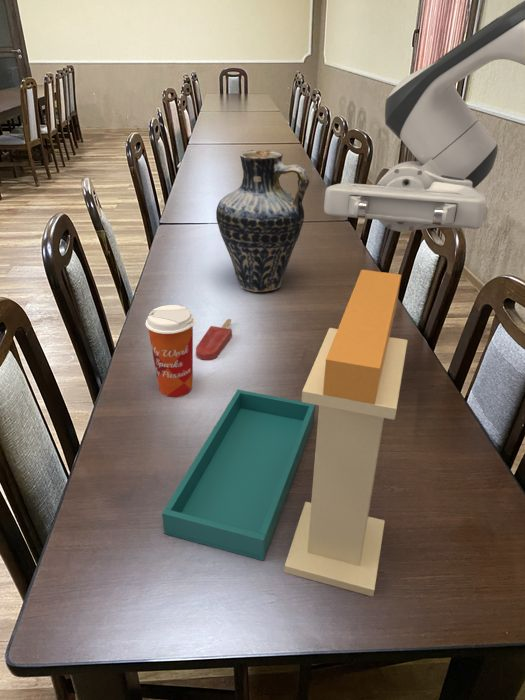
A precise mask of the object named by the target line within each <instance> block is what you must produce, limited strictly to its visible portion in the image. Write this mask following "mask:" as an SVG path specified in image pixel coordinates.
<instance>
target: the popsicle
mask: <svg viewBox="0 0 525 700" xmlns="http://www.w3.org/2000/svg"><path fill="white" fill-rule="evenodd" d="M231 322H232V319H231V318H227V319H226V321H225V322H224V323H223V324H222V326H221V327H220V326H214V325H210V326H209V328H208V329H207V331H206V332H205V334H204V335H203V337H202V338H201V340H200V341H199V342H198V344H197V345H196V347H195V355H196V357H197V359H200V360H204V361H210V360H214V359H216V358H217V357H218V356H219V355H220V353H221V352H222V350H223V349H224V348H225V347H226V345H227V344H228V343H229V341H230V340H231V339H232V337H233V329H232V328H228V327H229V326H230V324H231Z"/></svg>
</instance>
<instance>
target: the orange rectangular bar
mask: <svg viewBox="0 0 525 700" xmlns="http://www.w3.org/2000/svg"><path fill="white" fill-rule="evenodd" d="M401 280H402V274H400V273H393V272H383V271H377V270H376V271H375V270H370V269H369V270H368V269H360V272H359V275H358V277H357V281H356V282H355V285H354V288H353V290H352V292H351V295H350V298H349V300H348V303H347V305H346V307H345V311H344V312H343V315H342V317H341V321H340V323H339V325H338V328H337V329H338V330H337V333H336V335H335V338H334V340H333V343H332V345H331V348H330V350H329V353H328V355H327V358H326V364H325V375H324V387H323V395H327V396H333V397H338V398H343V399H349V400H354V401H359V402H365V403H370V404H375V401H376V396H377V392H378V387H379V383H380V378H381V374H382V369H383V365H384V360H385V356H386V351H387V346H388V342H389V337H391V332H392V328H393V324H394V323H393V322H394V320H395V319H394V318H395V314H396V310H397V305H398V299H399V293H400V286H401Z"/></svg>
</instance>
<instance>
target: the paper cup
mask: <svg viewBox="0 0 525 700" xmlns="http://www.w3.org/2000/svg"><path fill="white" fill-rule="evenodd" d="M196 322H197V321H196V319H195V317H194V316H193V314H192V313H191V311H190V310H189V309H188V307H185V306H182V305H178V304H177V305H176V304H168V305H167V304H166V305H161V306H158V307H156V308H154V309H152V310H151V311H150V312H149V314H148V316H147V318H146V319H145V327H146V328H147V329H148V334H149V340H150V347H151V352H152V358H153V363H154V368H155V369H154V370H155V374H156V381H157V384H158V389H159V391H160V393H161V394H162V395H163V396H166V397H170V398H178V397H183V396H185V395H188V394H189V393H190V392H191V391H192V389H193V376H194V375H193V373H194V369H193V368H194V365H193V364H194V326H195V324H196Z"/></svg>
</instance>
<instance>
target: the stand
mask: <svg viewBox="0 0 525 700" xmlns="http://www.w3.org/2000/svg"><path fill="white" fill-rule="evenodd" d="M337 330H338V328H333V327H329V328H328V330H327V333H326V335H325V337H324V339H323V341H322V344H321V345H320V349H319V351H318V353H317V356H316V358H315V361H314V363H313V365H312V368H311V370H310V372H309V374H308V376H307V380H306V381H305V384H304V386H303V387H302V391H301V402H304V403H309V404H314V405H315V406H318V417H317V428H316V439H315V440H316V441H315V451H314V452H315V453H314V463H313V465H314V466H313V475H312V476H313V479H312V488H311V489H312V491H311V502H310V501H305V502H304V504H303V508H302V510H301V513H300V517H299V520H298V523H297V525H296V528H295V531H294V535H293V539H292V540H291V545H290V548H289V551H288V554H287V557H286V559H285V560H286V561H285V563H284V568H283V569H284V571H283V573H285V574H288V575H292V576H296V577H299V578H302V579H307V580H310V581H314V582H317V583H321V584H325V585H329V586H331V587H332V586H333V587H336V588H339V589H342V590H346V591H350V592H354V593H357V594H361V595H364V596H369V597H372V598H373V597H374V596H375V589H376V585H377V577H378V569H379V563H380V556H381V551H382V550H381V548H382V542H383V536H384V529H385V522H386V520H385V519H382V518H381V519H379V518H376V517H372V516H369V514H370V508H371V503H372V497H373V496H372V495H373V489H374V483H375V476H376V471H377V465H378V457H379V451H380V446H381V439H382V434H383V427H384V421H385V419H387V420H396V415H397V408H398V404H399V403H398V402H399V398H400V397H399V396H400V390H401V385H402V379H403V371H404V366H405V360H406V352H407V347H408V339H406V338H405V339H404V338H398V337H392V336H390V337H389V342H388V346H387V351H386V356H385V360H384V365H383V369H382V374H381V378H380V383H379V387H378V392H377V396H376V401H375V404H370V403H365V402H359V401H354V400H349V399H343V398H338V397H333V396H327V395H323V387H324V375H325V364H326V358H327V355H328V353H329V350H330V348H331V345H332V343H333V340H334V338H335V335H336V333H337Z"/></svg>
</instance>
